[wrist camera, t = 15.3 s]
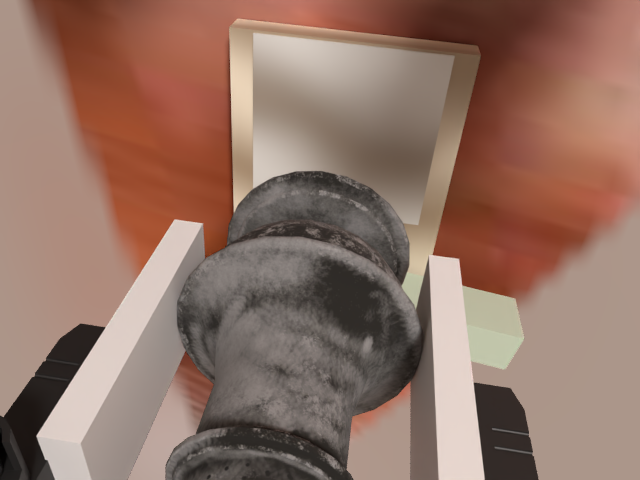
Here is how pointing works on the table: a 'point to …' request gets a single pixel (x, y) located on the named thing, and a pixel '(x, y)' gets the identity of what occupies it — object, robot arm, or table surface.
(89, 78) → the table surface
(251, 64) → the board
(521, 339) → the leg
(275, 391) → the grey stone chess piece
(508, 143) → the table surface
